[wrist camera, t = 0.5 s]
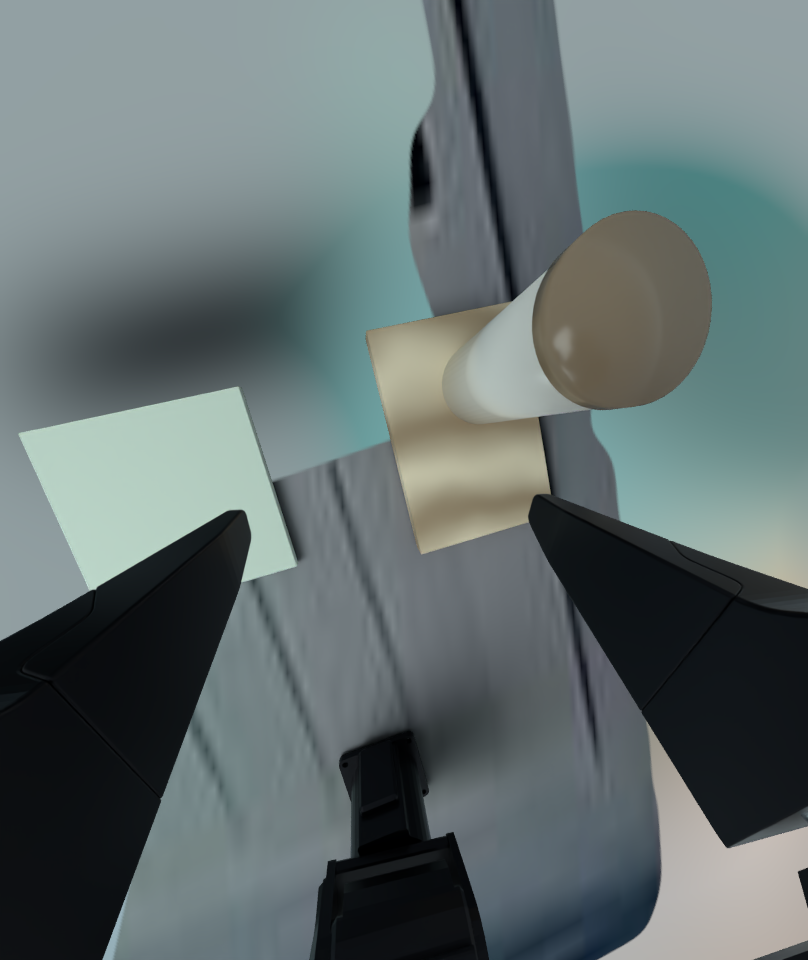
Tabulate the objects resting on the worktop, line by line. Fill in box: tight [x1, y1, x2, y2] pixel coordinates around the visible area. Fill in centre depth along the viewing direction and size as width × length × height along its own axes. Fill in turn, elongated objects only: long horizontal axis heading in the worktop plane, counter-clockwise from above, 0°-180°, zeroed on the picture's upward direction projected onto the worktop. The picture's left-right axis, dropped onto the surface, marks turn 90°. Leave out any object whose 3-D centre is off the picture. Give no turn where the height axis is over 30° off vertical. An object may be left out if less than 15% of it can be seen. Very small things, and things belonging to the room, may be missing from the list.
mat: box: [19, 387, 298, 591], centre depth 20 cm, size 13×13×1 cm
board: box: [366, 302, 551, 554], centre depth 22 cm, size 16×11×2 cm
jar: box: [442, 211, 712, 424], centre depth 15 cm, size 6×6×12 cm
